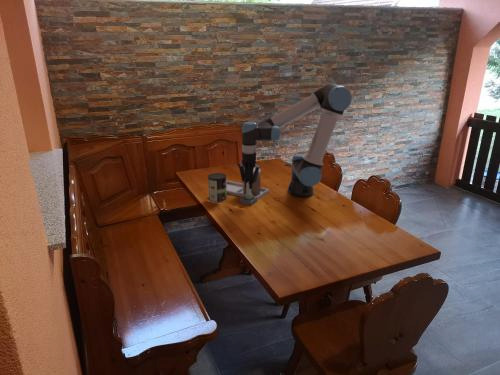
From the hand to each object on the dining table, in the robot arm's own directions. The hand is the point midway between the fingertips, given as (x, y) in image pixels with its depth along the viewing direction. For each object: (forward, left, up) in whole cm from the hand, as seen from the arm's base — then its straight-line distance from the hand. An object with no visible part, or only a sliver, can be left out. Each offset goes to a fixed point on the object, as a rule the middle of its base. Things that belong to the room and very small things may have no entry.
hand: (248, 193), depth 200 cm
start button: (0, 0, -3) cm, 3 cm away
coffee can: (+18, +4, -6) cm, 19 cm away
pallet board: (+12, -12, -6) cm, 18 cm away
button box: (0, 0, -6) cm, 6 cm away
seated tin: (+5, -12, -5) cm, 14 cm away
